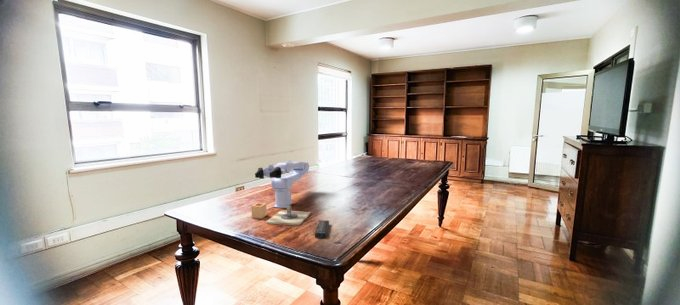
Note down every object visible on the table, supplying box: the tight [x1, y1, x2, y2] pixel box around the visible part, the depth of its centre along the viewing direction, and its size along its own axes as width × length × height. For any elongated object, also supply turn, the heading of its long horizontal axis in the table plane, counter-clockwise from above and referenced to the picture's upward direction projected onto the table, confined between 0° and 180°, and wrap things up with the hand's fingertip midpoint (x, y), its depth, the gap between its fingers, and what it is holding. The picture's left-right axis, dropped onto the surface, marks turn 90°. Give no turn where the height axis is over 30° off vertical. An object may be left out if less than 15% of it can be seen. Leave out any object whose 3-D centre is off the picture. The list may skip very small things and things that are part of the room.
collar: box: [250, 202, 268, 220], centre depth 142 cm, size 5×5×6 cm
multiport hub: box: [314, 220, 330, 239], centre depth 123 cm, size 4×14×2 cm, turn 177°
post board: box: [266, 205, 311, 227], centre depth 138 cm, size 16×16×6 cm
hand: (263, 175), depth 137 cm, fingers open, 7 cm apart
